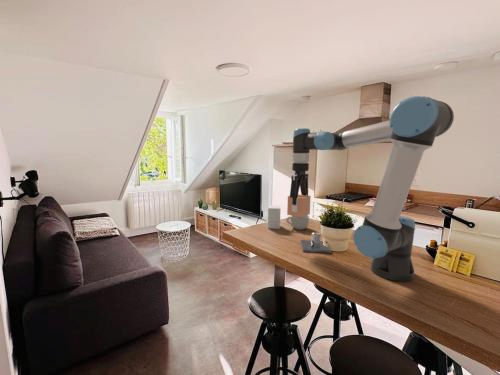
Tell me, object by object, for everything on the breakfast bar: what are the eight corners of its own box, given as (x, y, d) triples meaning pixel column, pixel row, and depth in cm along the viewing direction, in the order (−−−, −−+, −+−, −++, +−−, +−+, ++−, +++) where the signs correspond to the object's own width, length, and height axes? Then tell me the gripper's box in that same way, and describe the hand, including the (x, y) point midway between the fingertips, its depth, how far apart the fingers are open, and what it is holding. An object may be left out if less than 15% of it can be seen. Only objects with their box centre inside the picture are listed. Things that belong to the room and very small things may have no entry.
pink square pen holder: (309, 214, 124) (310, 195, 123) (302, 217, 118) (303, 197, 116) (294, 211, 129) (295, 193, 127) (287, 214, 122) (287, 195, 121)
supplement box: (279, 225, 159) (280, 205, 157) (279, 229, 152) (280, 208, 150) (267, 224, 160) (268, 205, 158) (267, 228, 153) (268, 208, 151)
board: (331, 253, 119) (332, 238, 118) (302, 251, 120) (303, 236, 119) (326, 243, 131) (327, 230, 129) (300, 242, 132) (301, 228, 131)
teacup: (305, 225, 160) (306, 213, 159) (310, 231, 150) (311, 218, 148) (283, 225, 160) (284, 213, 158) (287, 231, 149) (287, 217, 148)
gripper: (302, 161, 130) (300, 205, 133) (282, 162, 113) (281, 212, 117) (316, 162, 126) (314, 207, 129) (298, 163, 109) (296, 215, 112)
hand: (298, 209), depth 123 cm, fingers closed on pink square pen holder, 8 cm apart
